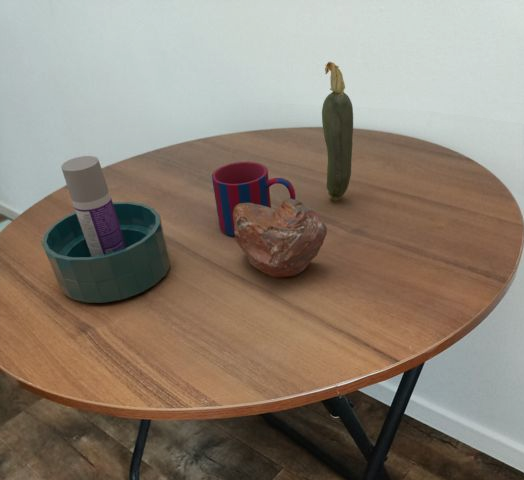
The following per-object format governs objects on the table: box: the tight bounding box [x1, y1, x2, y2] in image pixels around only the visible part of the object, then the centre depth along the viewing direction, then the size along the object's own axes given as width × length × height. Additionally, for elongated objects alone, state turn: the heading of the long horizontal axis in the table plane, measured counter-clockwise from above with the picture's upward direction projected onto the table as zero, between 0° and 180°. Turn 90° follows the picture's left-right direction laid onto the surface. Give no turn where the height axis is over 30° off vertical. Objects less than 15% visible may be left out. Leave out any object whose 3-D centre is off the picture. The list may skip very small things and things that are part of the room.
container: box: [60, 155, 126, 257], centre depth 67 cm, size 5×5×15 cm
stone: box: [233, 198, 328, 278], centre depth 65 cm, size 13×8×10 cm
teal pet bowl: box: [41, 201, 171, 304], centre depth 70 cm, size 15×15×7 cm
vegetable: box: [321, 61, 354, 202], centre depth 76 cm, size 4×4×20 cm
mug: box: [211, 161, 296, 238], centre depth 76 cm, size 8×12×8 cm, turn 64°
